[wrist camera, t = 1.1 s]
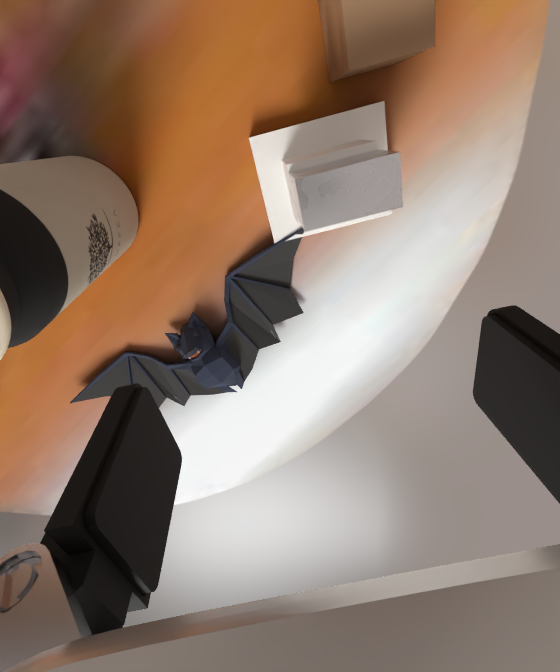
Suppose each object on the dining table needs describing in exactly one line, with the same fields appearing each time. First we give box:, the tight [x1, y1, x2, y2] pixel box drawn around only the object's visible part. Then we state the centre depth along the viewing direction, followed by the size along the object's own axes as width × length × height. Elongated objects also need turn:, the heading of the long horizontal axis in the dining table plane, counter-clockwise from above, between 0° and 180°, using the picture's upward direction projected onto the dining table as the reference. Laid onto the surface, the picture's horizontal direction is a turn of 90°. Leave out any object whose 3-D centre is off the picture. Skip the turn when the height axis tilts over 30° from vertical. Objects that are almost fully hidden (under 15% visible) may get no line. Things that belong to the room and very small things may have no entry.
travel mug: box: [0, 156, 138, 360], centre depth 20 cm, size 8×8×18 cm
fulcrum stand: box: [249, 101, 403, 243], centre depth 24 cm, size 8×10×9 cm
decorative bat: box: [70, 227, 304, 408], centre depth 34 cm, size 30×4×10 cm
